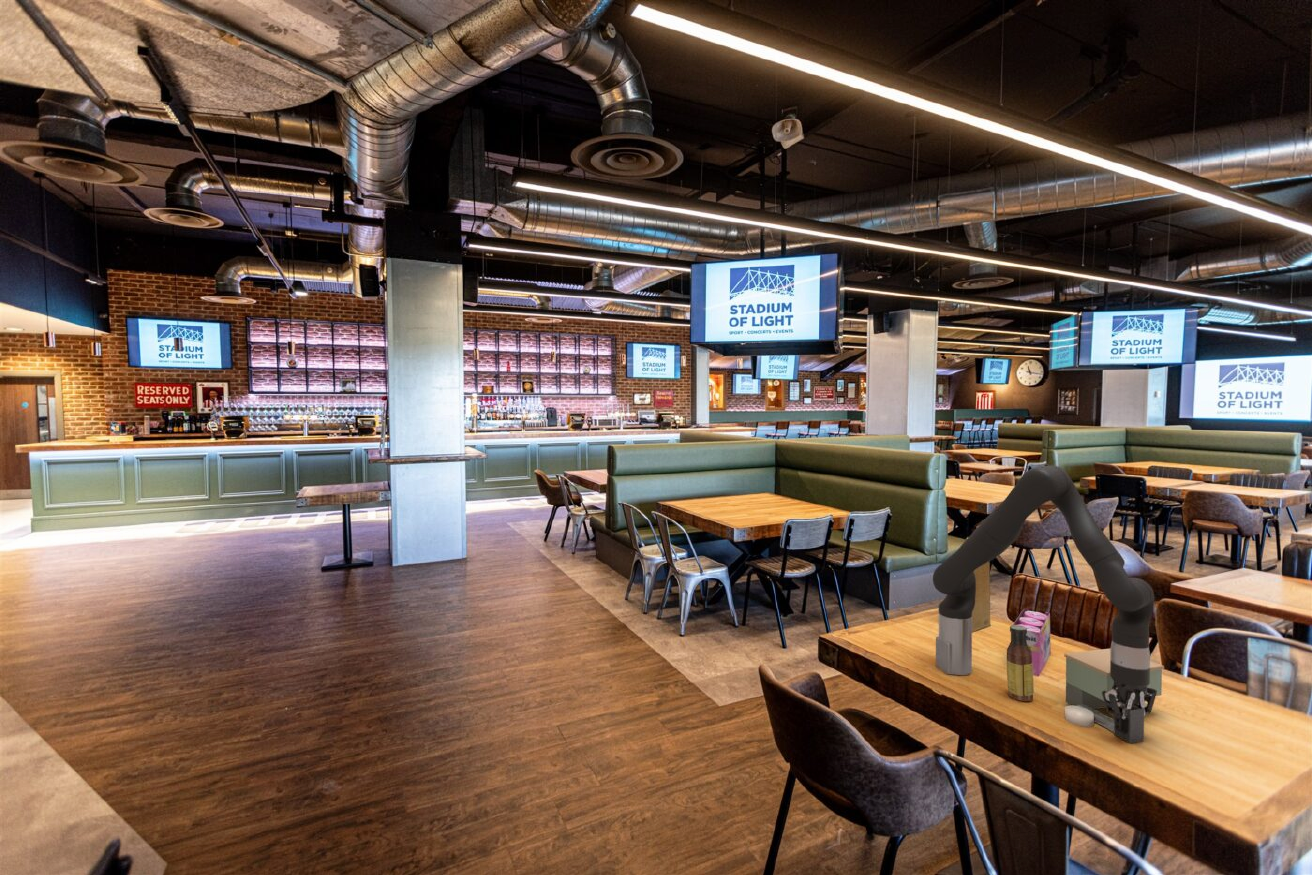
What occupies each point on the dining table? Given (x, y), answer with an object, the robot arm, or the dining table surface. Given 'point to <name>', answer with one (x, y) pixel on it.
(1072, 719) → the puck
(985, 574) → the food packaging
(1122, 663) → the robot arm
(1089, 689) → the cabinet
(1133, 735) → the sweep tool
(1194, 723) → the dining table surface
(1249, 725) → the dining table surface
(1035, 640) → the gum box
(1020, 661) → the sauce bottle
